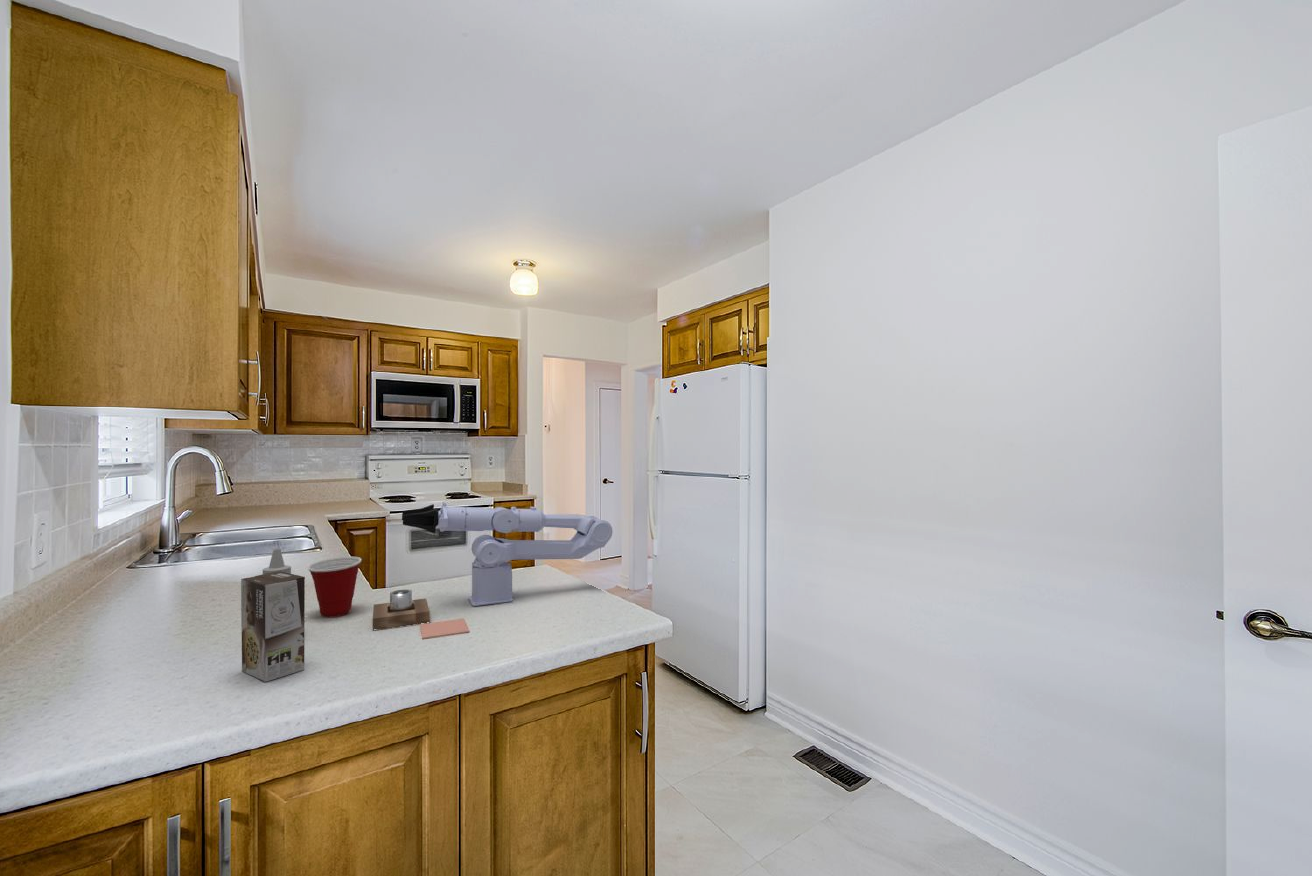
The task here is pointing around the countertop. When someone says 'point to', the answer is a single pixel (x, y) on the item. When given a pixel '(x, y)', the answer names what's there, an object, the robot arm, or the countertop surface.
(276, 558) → the squeeze bottle
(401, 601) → the metal plug
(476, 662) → the countertop surface
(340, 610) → the plastic cup
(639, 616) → the countertop surface
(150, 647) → the countertop surface
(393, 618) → the socket block
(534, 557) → the robot arm
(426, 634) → the rubber mat
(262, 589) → the coffee box
